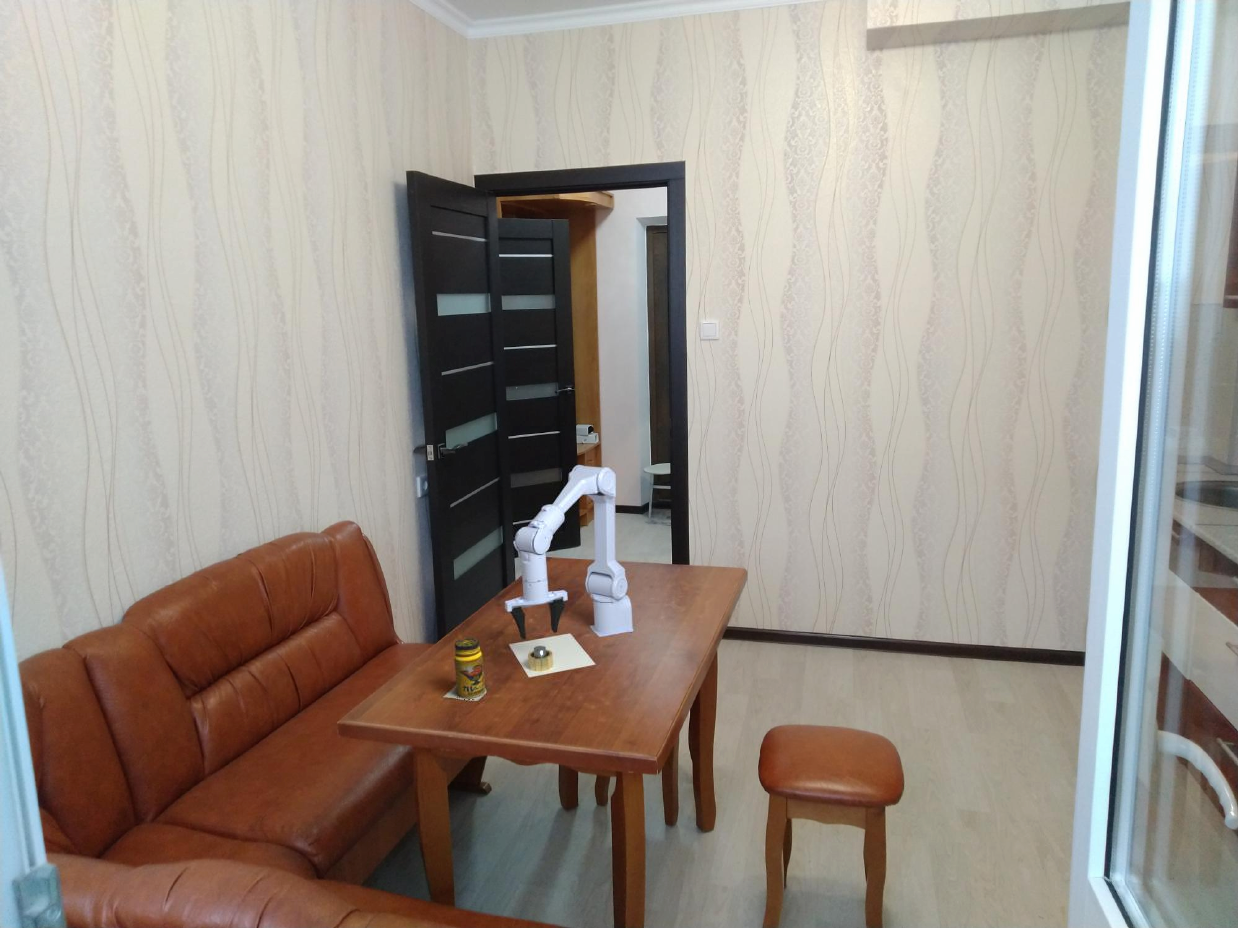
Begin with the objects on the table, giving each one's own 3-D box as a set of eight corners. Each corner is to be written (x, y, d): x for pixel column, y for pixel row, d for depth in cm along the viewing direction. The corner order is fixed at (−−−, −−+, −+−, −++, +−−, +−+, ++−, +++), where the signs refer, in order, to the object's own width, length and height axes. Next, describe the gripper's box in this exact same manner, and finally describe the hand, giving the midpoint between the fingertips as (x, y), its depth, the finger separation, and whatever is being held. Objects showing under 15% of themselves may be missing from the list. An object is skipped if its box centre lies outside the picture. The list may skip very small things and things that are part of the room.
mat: (570, 635, 218) (570, 633, 218) (595, 666, 199) (595, 664, 198) (508, 646, 213) (508, 644, 213) (529, 679, 193) (528, 676, 193)
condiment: (477, 701, 184) (473, 649, 181) (442, 697, 186) (438, 646, 184) (492, 686, 190) (488, 636, 188) (458, 683, 193) (454, 633, 191)
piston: (545, 662, 200) (543, 644, 200) (548, 667, 198) (547, 649, 197) (533, 665, 200) (532, 647, 199) (536, 669, 197) (535, 651, 196)
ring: (548, 659, 202) (547, 647, 202) (556, 667, 197) (555, 655, 197) (525, 664, 200) (525, 652, 200) (533, 673, 195) (532, 660, 195)
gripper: (558, 568, 201) (562, 622, 204) (499, 579, 196) (503, 634, 198) (569, 576, 195) (572, 632, 197) (508, 587, 189) (512, 645, 192)
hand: (538, 634), depth 197 cm, fingers open, 7 cm apart
